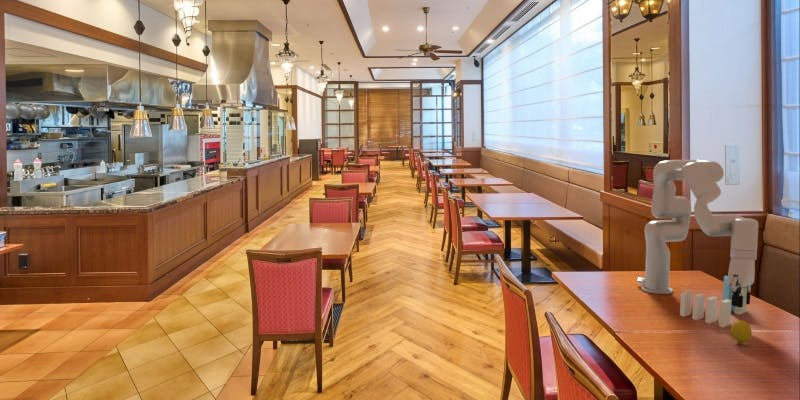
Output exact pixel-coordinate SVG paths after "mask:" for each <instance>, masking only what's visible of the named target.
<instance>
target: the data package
mask: <svg viewBox="0 0 800 400" xmlns="http://www.w3.org/2000/svg"><path fill="white" fill-rule="evenodd" d="M727 282H728V275H724V276H723V284H722V285H723V287H722V301H723V300H726V299H728V300H731V313H735V306H732V290H731V288H730V287H731V286H729V285H728V284H727ZM737 286H739V287H740V285H737Z"/></svg>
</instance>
